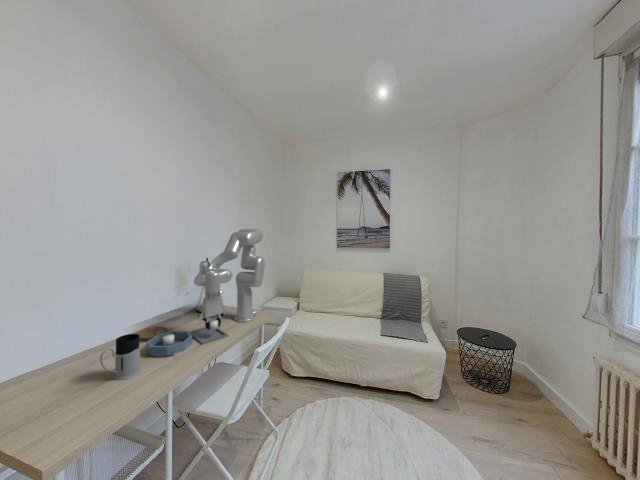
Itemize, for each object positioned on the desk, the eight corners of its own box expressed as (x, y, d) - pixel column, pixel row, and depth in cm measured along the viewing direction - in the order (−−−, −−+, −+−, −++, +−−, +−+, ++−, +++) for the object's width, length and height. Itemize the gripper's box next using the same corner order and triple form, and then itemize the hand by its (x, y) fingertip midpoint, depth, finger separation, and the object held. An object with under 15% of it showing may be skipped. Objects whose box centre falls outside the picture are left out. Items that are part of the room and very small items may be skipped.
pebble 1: (172, 340, 129) (172, 333, 129) (175, 344, 126) (175, 336, 126) (161, 343, 126) (161, 336, 125) (164, 347, 122) (164, 339, 122)
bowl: (183, 337, 136) (183, 328, 136) (196, 348, 123) (196, 338, 123) (144, 347, 123) (144, 338, 123) (153, 361, 110) (153, 351, 110)
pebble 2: (215, 325, 138) (215, 318, 138) (219, 328, 135) (219, 321, 134) (206, 328, 135) (206, 321, 134) (210, 331, 131) (210, 323, 131)
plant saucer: (152, 343, 128) (152, 339, 127) (128, 340, 130) (128, 336, 130) (174, 332, 142) (174, 327, 142) (152, 329, 145) (152, 325, 145)
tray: (213, 327, 149) (213, 324, 149) (228, 337, 136) (228, 334, 136) (188, 334, 139) (188, 331, 139) (202, 346, 126) (202, 342, 126)
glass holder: (146, 369, 104) (146, 334, 103) (109, 390, 90) (109, 350, 90) (130, 366, 106) (130, 332, 106) (92, 386, 93) (92, 346, 92)
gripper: (224, 290, 142) (225, 321, 143) (193, 296, 130) (194, 330, 131) (231, 292, 137) (231, 324, 138) (198, 299, 125) (199, 334, 126)
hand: (213, 327), depth 135 cm, fingers closed on pebble 2, 4 cm apart
